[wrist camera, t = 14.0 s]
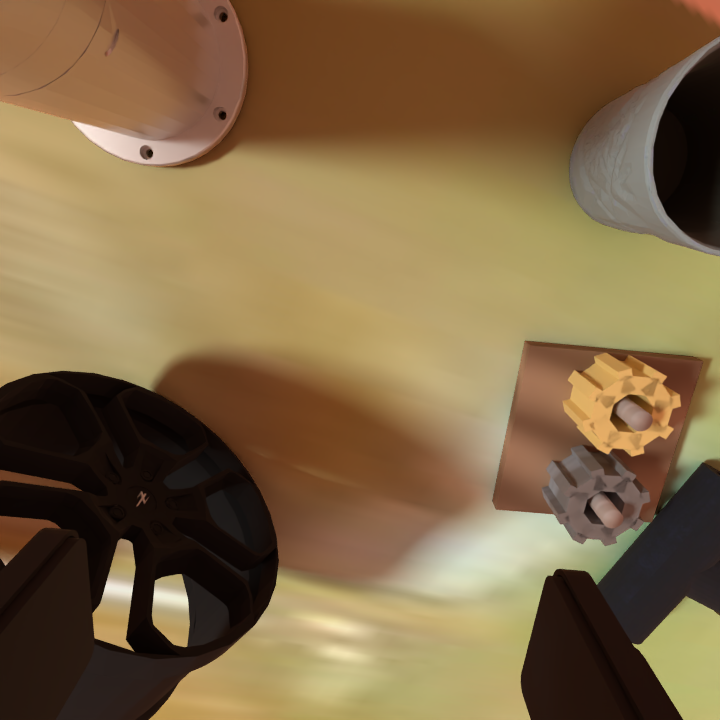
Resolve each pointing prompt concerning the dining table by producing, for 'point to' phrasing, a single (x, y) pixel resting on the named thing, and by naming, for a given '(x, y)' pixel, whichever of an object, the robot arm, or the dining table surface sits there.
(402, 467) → the dining table surface
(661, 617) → the pipe connector
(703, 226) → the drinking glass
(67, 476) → the car wheel rim
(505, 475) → the board
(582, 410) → the ochre gear
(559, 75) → the dining table surface
